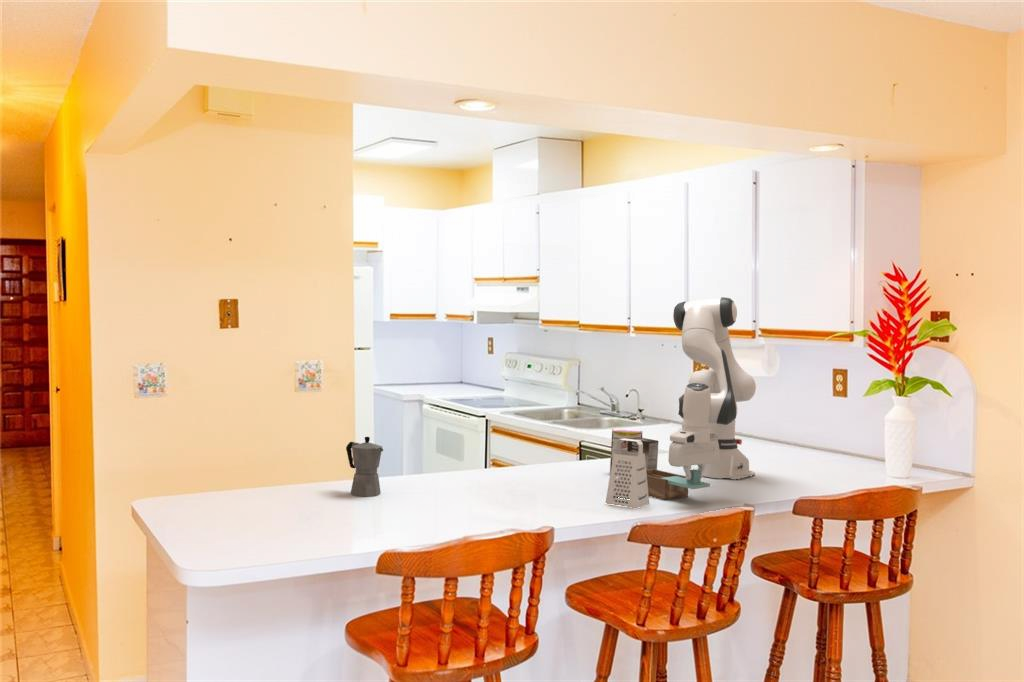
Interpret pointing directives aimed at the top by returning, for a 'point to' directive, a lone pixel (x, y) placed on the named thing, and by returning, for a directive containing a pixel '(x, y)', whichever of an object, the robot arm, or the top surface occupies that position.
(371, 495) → the coffeepot
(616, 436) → the candy bar box
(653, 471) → the walnut box
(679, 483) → the cover plate
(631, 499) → the grater
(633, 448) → the coffee box
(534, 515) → the top surface
